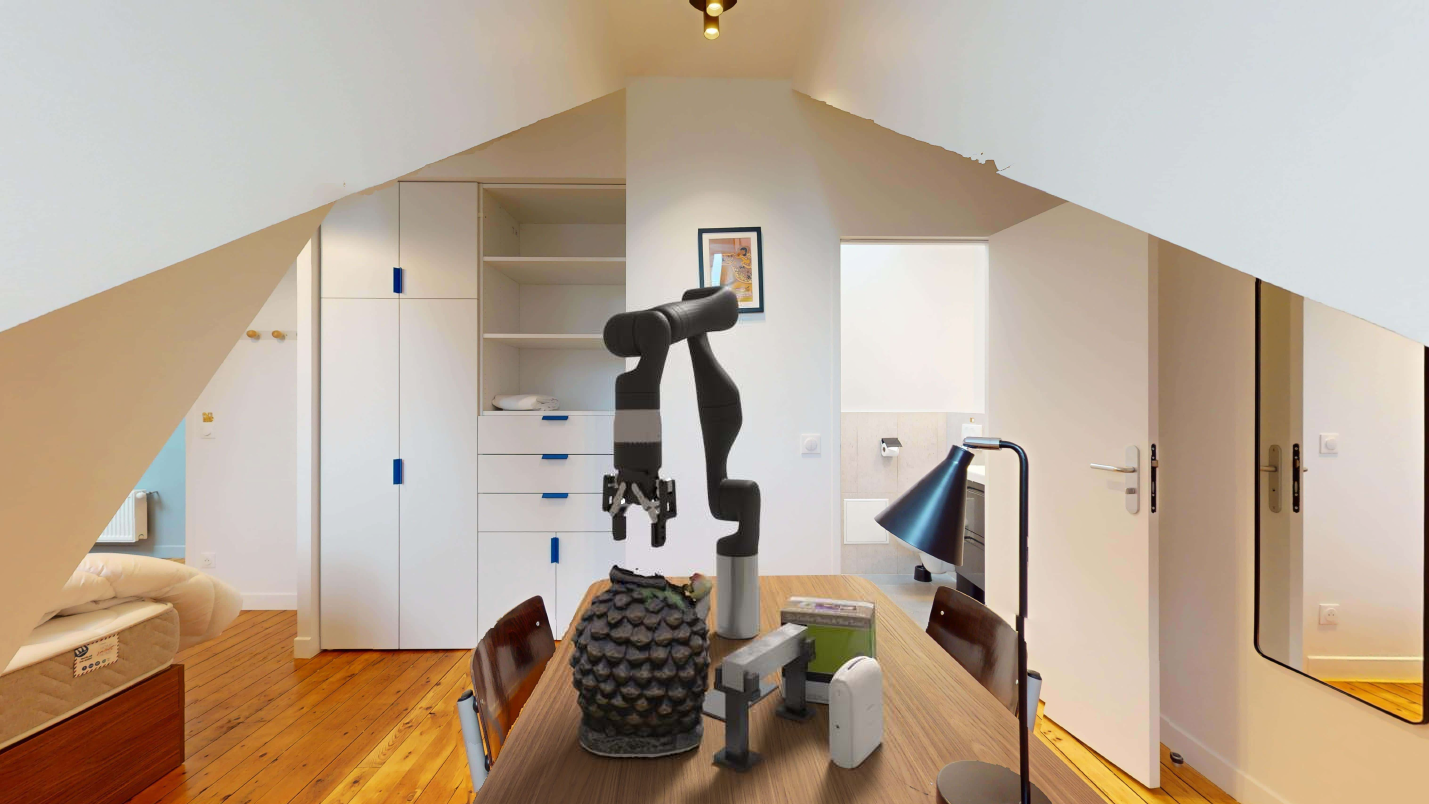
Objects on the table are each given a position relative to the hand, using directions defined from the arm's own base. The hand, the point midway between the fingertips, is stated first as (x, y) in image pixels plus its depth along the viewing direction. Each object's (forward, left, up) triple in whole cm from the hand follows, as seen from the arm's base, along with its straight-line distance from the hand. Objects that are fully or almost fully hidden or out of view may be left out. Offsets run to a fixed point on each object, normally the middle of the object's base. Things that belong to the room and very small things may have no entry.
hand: (638, 543), depth 91 cm
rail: (-8, +18, -17) cm, 26 cm away
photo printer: (-12, +30, -27) cm, 43 cm away
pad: (-15, +7, -27) cm, 32 cm away
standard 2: (-16, +18, -27) cm, 37 cm away
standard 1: (0, +18, -27) cm, 33 cm away
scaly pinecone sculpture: (+4, +4, -27) cm, 28 cm away
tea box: (-26, +19, -27) cm, 43 cm away
